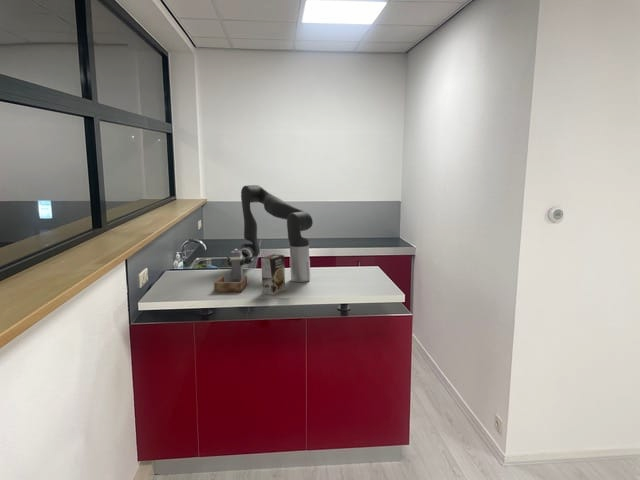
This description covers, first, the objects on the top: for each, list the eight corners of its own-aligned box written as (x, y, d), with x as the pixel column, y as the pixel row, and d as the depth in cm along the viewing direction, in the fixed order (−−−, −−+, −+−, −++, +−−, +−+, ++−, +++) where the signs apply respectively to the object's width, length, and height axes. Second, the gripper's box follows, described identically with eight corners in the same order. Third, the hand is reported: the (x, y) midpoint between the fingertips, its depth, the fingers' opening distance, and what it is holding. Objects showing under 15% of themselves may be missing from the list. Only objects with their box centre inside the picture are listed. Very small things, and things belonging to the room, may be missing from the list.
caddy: (247, 284, 211) (247, 275, 211) (241, 292, 199) (240, 282, 198) (222, 284, 212) (222, 275, 211) (214, 292, 199) (214, 283, 198)
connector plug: (243, 276, 221) (242, 248, 218) (241, 278, 216) (239, 250, 214) (234, 276, 221) (232, 248, 219) (231, 278, 216) (229, 250, 214)
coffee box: (273, 295, 194) (272, 258, 191) (262, 293, 197) (260, 257, 194) (286, 289, 201) (284, 254, 199) (274, 288, 205) (273, 253, 202)
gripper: (229, 249, 231) (220, 256, 214) (256, 249, 230) (249, 255, 214) (230, 263, 232) (221, 271, 216) (257, 263, 232) (250, 271, 215)
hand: (235, 263), depth 215 cm, fingers closed on connector plug, 4 cm apart
